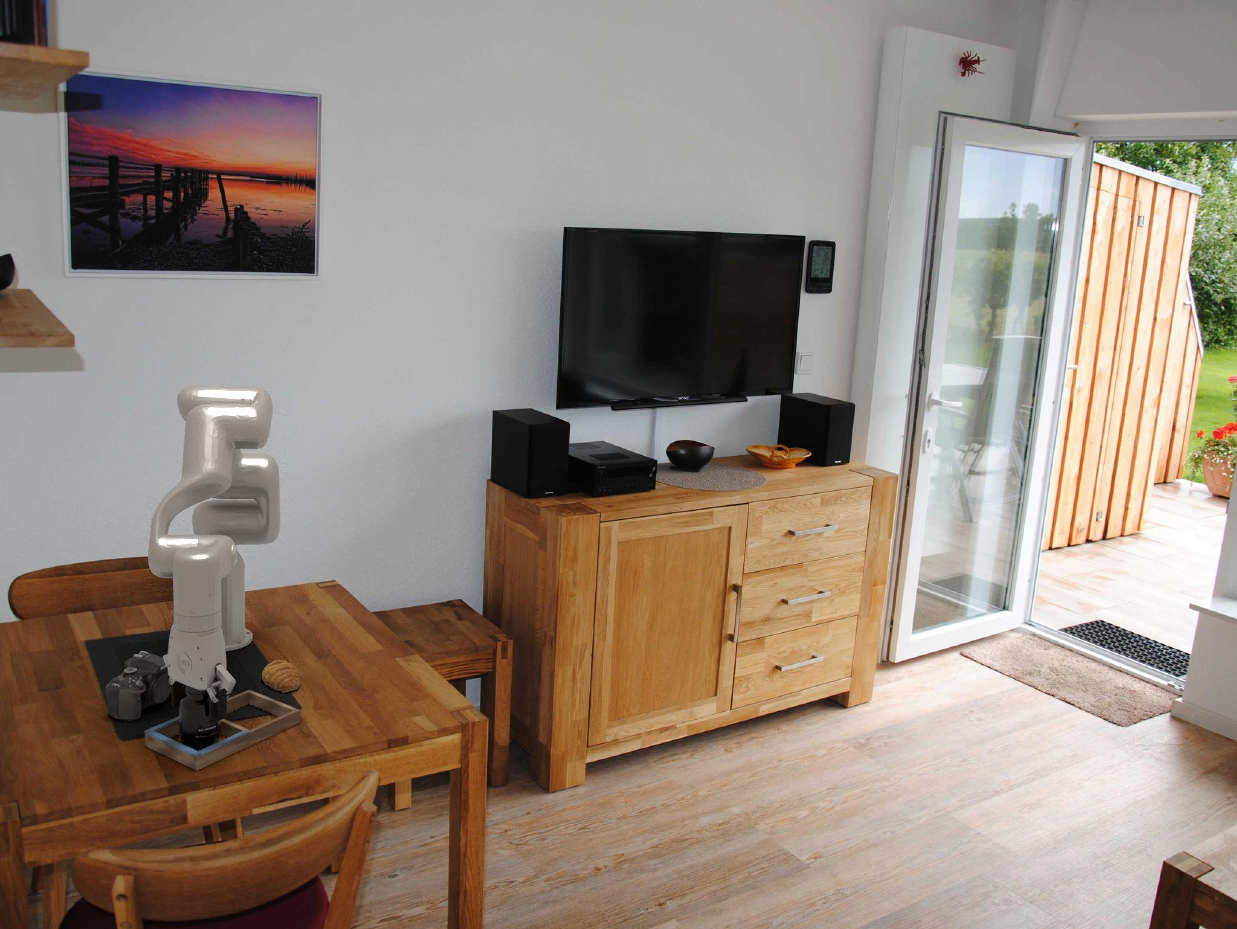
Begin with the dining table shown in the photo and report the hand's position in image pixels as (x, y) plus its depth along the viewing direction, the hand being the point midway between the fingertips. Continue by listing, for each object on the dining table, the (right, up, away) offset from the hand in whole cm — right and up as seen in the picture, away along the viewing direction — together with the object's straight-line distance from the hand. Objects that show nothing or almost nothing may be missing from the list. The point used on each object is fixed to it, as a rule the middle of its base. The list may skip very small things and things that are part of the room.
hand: (199, 712), depth 181 cm
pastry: (+6, -1, +28) cm, 29 cm away
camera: (-16, -2, +14) cm, 22 cm away
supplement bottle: (0, -6, +2) cm, 7 cm away
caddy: (+2, -5, +6) cm, 8 cm away
